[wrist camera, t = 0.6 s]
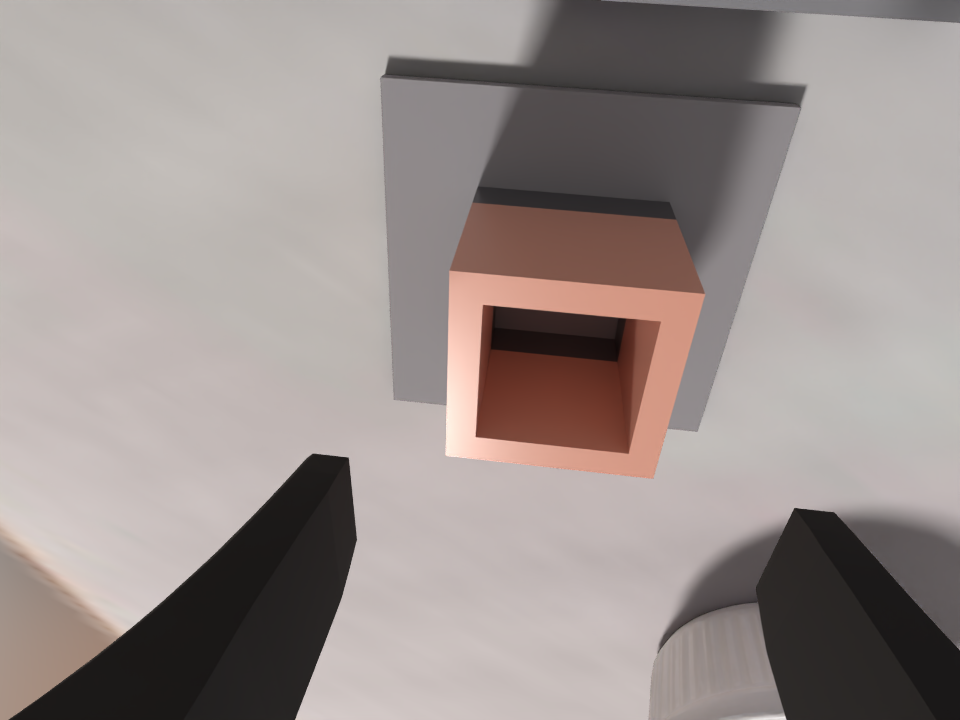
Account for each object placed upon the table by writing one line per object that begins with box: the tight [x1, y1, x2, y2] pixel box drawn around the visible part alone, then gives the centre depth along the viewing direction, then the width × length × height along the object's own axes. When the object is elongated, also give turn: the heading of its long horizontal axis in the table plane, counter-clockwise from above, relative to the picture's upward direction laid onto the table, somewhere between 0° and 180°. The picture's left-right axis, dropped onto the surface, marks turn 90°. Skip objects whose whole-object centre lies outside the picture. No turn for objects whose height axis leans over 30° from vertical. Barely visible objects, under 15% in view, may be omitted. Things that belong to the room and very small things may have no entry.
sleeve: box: [446, 186, 705, 479], centre depth 16 cm, size 5×5×5 cm
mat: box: [380, 75, 801, 432], centre depth 18 cm, size 10×10×1 cm
